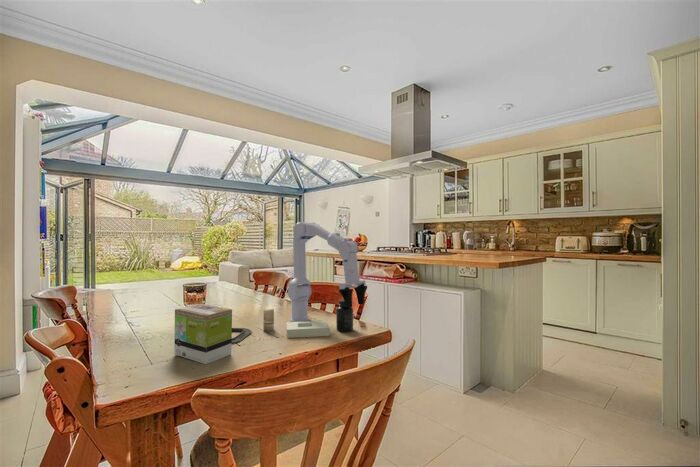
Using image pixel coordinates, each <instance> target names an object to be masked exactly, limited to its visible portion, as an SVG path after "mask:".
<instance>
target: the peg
mask: <svg viewBox="0 0 700 467" xmlns="http://www.w3.org/2000/svg"><path fill="white" fill-rule="evenodd" d="M274 324H275V309H273V308H265V309H264V310H263V329H262V330H263V332H268V333H269V332H273V331H274V330H275V325H274Z"/></svg>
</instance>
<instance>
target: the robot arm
mask: <svg viewBox="0 0 700 467" xmlns="http://www.w3.org/2000/svg"><path fill="white" fill-rule="evenodd" d="M316 236H317V237H320V238H321V239H323V240H325V241H327V244H328V245H329V246H330V247H331V248H334V249H335V250H336V251H338V253H339V255H340V256H341V260H342V263H343V264H342V265H343V273H344V283H339V284H338V287H339V288H338V292H339V293H340V295H341V297H342V299H344V301H345V303H346V306H347V307H352V308H353V291H355V292H354V293H355V295H356V300H357V302H358V305H364V303H365V297H366V292H367V289H368V285H366V284H367V283H366V279H364V280H361V279H360V272H359V264H358V256H357V254H358V253H359V244H358V243H357V242H356V241H355V240H350V241H349V238H347V237H344V236H341V234H340V232H332V233H331V232H329V231H328V230H326V228H323V227H322V226H320V224H318V223H316V222H303V221H297V222H296V224H295V225H294V226H293V237H292V238H293V239H292V244H293V245H292V247H293V251H292V252H293V254H292V255H293V278H292V280H290V282H288V290H287V295H288V298H289V299H290V301H291V315H290V316H289V317H290V322H302V321H310V319H309V314H308V312H309V311H308V310H309V308H308V306H309V304H308V303H309V301H308V300H309V299H310V297H311V295H312V292H313V291H312V286H311V282H310V280H309V279H308V278H307V271H306V270H307V268H306V267H307V266H306V265H307V261H306V260H307V259H306V258H307V256H306V244H307V242H308V241H309V240H311V239H313V238H315V237H316Z"/></svg>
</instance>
